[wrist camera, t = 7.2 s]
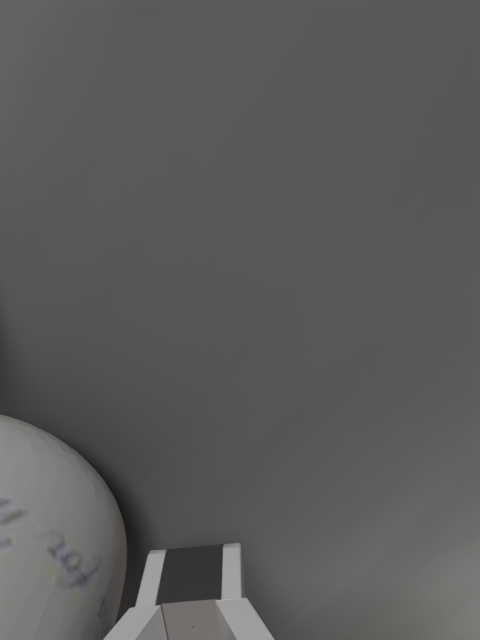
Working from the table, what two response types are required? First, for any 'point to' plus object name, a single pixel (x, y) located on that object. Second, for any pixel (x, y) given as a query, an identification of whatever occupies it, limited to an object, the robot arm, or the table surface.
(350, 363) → the table surface
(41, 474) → the teacup
